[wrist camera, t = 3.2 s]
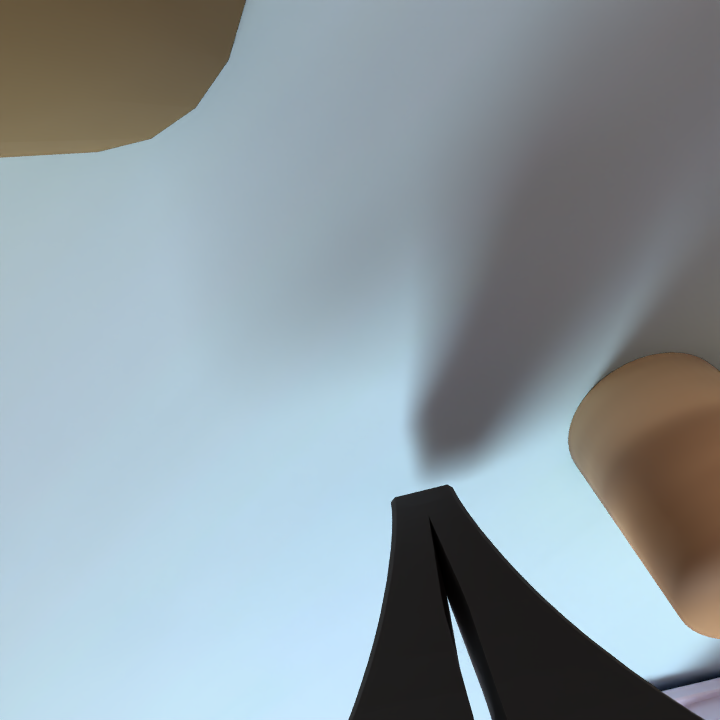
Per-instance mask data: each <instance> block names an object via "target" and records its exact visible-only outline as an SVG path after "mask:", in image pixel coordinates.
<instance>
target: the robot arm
mask: <svg viewBox="0 0 720 720" xmlns="http://www.w3.org/2000/svg"><path fill="white" fill-rule="evenodd" d="M391 507H392V541H391V552H390V560H389V568H388V576H387V582H386V588H385V593H384V598H383V603H382V608H381V614H380V618H379V623H378V627H377V631H376V635H375V639H374V643H373V646H372V650H371V653H370V657H369V661H368V664H367V667H366V670H365V673H364V677H363V680H362V683H361V686H360V689H359V692H358V695H357V698H356V701H355V704H354V706H353V709H352V712H351V715H350V717H349V720H474V718H473V714H472V710H471V707H470V703H469V700H468V696H467V692H466V689H465V685H464V681H463V678H462V674H461V671H460V667H459V661H458V655H457V650H456V644H455V639H454V633H453V628H452V622H451V616H450V611H449V605H448V600H449V603H450V606H451V608H452V611H453V614H454V616H455V619H456V622H457V624H458V627H459V630H460V632H461V635H462V638H463V640H464V643H465V646H466V648H467V651H468V654H469V656H470V659H471V662H472V664H473V667H474V670H475V672H476V675H477V678H478V680H479V683H480V686H481V688H482V691H483V694H484V697H485V700H486V703H487V706H488V709H489V712H490V715H491V718H492V720H720V678H716V679H712V680H707V681H703V682H699V683H695V684H690V685H686V686H682V687H678V688H673V689H669V690H665V691H660V690H659V689H657V688H656V687H654V686H653V685H652V684H650V683H649V682H647V681H646V680H644V679H643V678H642V677H640V676H639V675H637V674H636V673H635V672H633V671H632V670H630V669H629V668H628V667H626V666H625V665H624V664H623V663H621V662H620V661H619V660H617V659H616V658H615V657H613V656H612V655H611V654H610V653H608V652H607V651H606V650H604V649H603V648H602V647H600V646H599V645H598V644H597V643H595V642H594V641H593V640H591V639H590V638H589V637H588V636H586V635H585V634H584V633H583V632H582V631H580V630H579V629H578V628H577V627H576V626H575V625H573V624H572V623H571V622H570V621H569V620H568V619H566V618H565V617H564V616H563V615H562V614H561V613H560V612H559V611H557V610H556V609H555V608H554V607H553V606H552V605H551V604H550V603H549V602H548V601H547V600H545V599H544V598H543V597H542V596H541V595H540V594H539V593H538V592H537V591H536V590H535V589H534V588H533V587H532V586H531V585H530V584H529V583H528V582H527V581H526V580H525V579H524V578H523V577H522V576H521V575H520V574H519V573H518V572H517V571H516V570H515V568H514V567H513V566H512V565H511V564H510V563H509V562H508V561H507V560H506V559H505V558H504V556H503V555H502V554H501V553H500V552H499V551H498V549H497V548H496V547H495V546H494V545H493V544H492V542H491V541H490V540H489V539H488V538H487V537H486V535H485V534H484V533H483V532H482V530H481V529H480V528H479V527H478V525H477V524H476V523H475V521H474V520H473V519H472V517H471V516H470V514H469V513H468V512H467V510H466V509H465V507H464V506H463V504H462V503H461V501H460V500H459V498H458V496H457V495H456V493H455V491H454V489H453V487H451V486H449V485H444V486H440V487H436V488H432V489H427V490H423V491H419V492H415V493H411V494H407V495H403V496H399V497H395V498H394V499H393V500H392V502H391ZM447 598H448V600H447Z"/></svg>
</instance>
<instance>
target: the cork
mask: <svg viewBox="0 0 720 720" xmlns="http://www.w3.org/2000/svg"><path fill="white" fill-rule="evenodd" d="M245 1H246V0H0V157H18V156H35V155H53V154H70V153H88V152H100V151H104V150H108V149H112V148H116V147H120V146H124V145H128V144H132V143H136V142H140V141H144V140H148V139H151V138H153V137H154V136H156V135H157V134H158V133H160V132H161V131H163V130H164V129H166V128H167V127H169V126H170V125H171V124H173V123H174V122H176V121H177V120H179V119H180V118H182V117H183V116H184V115H186V114H187V113H189V112H190V111H192V110H193V109H195V108H196V106H197V105H198V103H199V102H200V101H201V99H202V98H203V96H204V95H205V93H206V92H207V90H208V89H209V88H210V86H211V85H212V83H213V82H214V80H215V79H216V77H217V76H218V75H219V73H220V72H221V70H222V69H223V67H224V66H225V65H226V63H227V62H228V60H229V56H230V53H231V49H232V46H233V43H234V39H235V36H236V32H237V29H238V25H239V22H240V19H241V15H242V12H243V8H244V5H245Z"/></svg>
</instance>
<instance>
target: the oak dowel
mask: <svg viewBox="0 0 720 720" xmlns="http://www.w3.org/2000/svg"><path fill="white" fill-rule="evenodd" d="M568 444H569V451H570V454H571V457H572V459H573V461H574V463H575V464H576V466H577V467H578V469H579V470H580V472H581V473H582V475H583V476H584V478H585V479H586V481H587V482H588V483H589V485H590V486H591V488H592V489H593V491H594V492H595V494H596V495H597V497H598V498H599V500H600V501H601V503H602V504H603V505H604V507H605V508H606V510H607V511H608V513H609V514H610V516H611V517H612V519H613V520H614V522H615V523H616V525H617V526H618V527H619V529H620V530H621V532H622V533H623V535H624V536H625V538H626V539H627V541H628V542H629V544H630V545H631V547H632V548H633V549H634V551H635V552H636V554H637V555H638V557H639V558H640V560H641V561H642V563H643V564H644V566H645V567H646V569H647V570H648V571H649V573H650V574H651V576H652V577H653V579H654V580H655V582H656V583H657V585H658V586H659V588H660V589H661V591H662V592H663V593H664V595H665V596H666V598H667V599H668V601H669V602H670V604H671V605H672V607H673V608H674V610H675V611H676V613H677V614H678V615H679V617H680V618H681V620H682V621H683V622H684V623H685V624H686V625H687V626H688V627H689V628H691V629H692V630H693V631H695V632H697V633H699V634H702V635H705V636H708V637H712V638H717V639H720V371H719V370H718V369H716V368H715V367H714V366H712V365H711V364H710V363H708V362H707V361H705V360H703V359H701V358H699V357H696V356H693V355H690V354H685V353H674V352H670V353H659V354H654V355H649V356H646V357H642V358H639V359H636V360H634V361H632V362H629V363H627V364H625V365H623V366H621V367H619V368H618V369H616V370H615V371H613V372H612V373H610V374H608V375H607V376H606V377H605V378H603V379H602V380H601V381H600V382H598V383H597V384H596V385H595V386H594V387H593V388H592V389H591V390H590V392H589V393H588V394H587V395H586V396H585V398H584V399H583V400H582V402H581V403H580V405H579V406H578V408H577V410H576V412H575V414H574V416H573V419H572V422H571V425H570V429H569V436H568Z"/></svg>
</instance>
